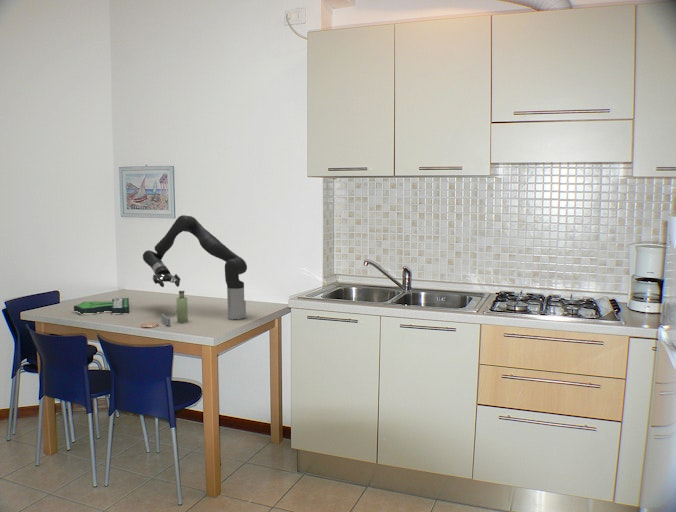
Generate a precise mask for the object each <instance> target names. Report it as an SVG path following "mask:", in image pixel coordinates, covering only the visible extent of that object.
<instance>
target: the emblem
mask: <svg viewBox="0 0 676 512" xmlns="http://www.w3.org/2000/svg"><path fill="white" fill-rule="evenodd" d="M74 311H78V312H80V313H81V314H83V313H97V312H104V311H112V312H111V314H112V313H128V314H130V298H129V297H124V298H123V297H119V298H118V297H116V298H112V300H111V301H84V302H82V303H79V304H75V305H73V312H74Z"/></svg>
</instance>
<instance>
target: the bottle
mask: <svg viewBox="0 0 676 512" xmlns="http://www.w3.org/2000/svg"><path fill="white" fill-rule="evenodd" d="M178 296H179V297H177V298H176V299H175V301H176V322H177V323H178V322H186V323H188V322H189V314H188V313H189V312H188V310H189V309H188V297H186V296H185V290H178ZM187 321H188V322H187Z"/></svg>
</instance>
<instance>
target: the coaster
mask: <svg viewBox="0 0 676 512" xmlns="http://www.w3.org/2000/svg"><path fill="white" fill-rule="evenodd" d="M157 325H158V326H159V323H157V322H147V323H142V324H140V325H139V326H141V327H154V326H157ZM158 326H157V327H158ZM141 327H140V328H141ZM154 328H155V327H154Z"/></svg>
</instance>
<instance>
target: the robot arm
mask: <svg viewBox="0 0 676 512" xmlns="http://www.w3.org/2000/svg"><path fill="white" fill-rule="evenodd" d="M182 232H186V233H190V234H192V235H193V236H194V237H196V239H197V240H198V243H199V245H200V246H201V248H202V249H203V250H204V251H205V252H207V253H208V254H209V255H211V256H213V257H215V258H217V259H220V260H221V261H224V262H225V264H224V277H225V278H224V279H225V283H226V287H227V288H226V291H227V296H226V297H227V319H229V320H233V319H237V320H242V318H243V319H245V318H247V302H246V300H245V282H244V281H242V280H240V276H239V275H243V274H245V273H246V272H247V270H248V266H247V261H246V260H244V259H243V258H242V257H240V256H239V255H238V254H236V253H235V252H234V251H232V250H231V249H229V247H227V246H226V245H225V244H223V242H222V241H220V239H219V238H217V237H216V236H214V235H213V234H212V233H211V232H210V231H208V230H207V229H205V227H204V226H203V225H202V224H201V223H200V222H199V221H198V220H197V219H196V218H195V217H194V216H191V215H185V214H184V215H180V216H178V217H177V218H176V220H175V221H174V222H173V223H172V225H171V227H170V228H169V229H168V231H167V232H166V234H165V235H164V236H163V237H162V238H161V240H160V241H158V242H157V243H156V245H154V251H152V250H145V251H144V252H143V254H142V259H143V262H144V263H145V264H147V265H148V266H149V267H150V268H151V270H152V271H153V273H154V274H152V275H153V276H152V280H153V282H154V284H155V285H156V284H158V285H159V286H160V287H161V288H164V286H165V283H166V282H167V283H172V284H174V285H175V286H176V287H177V288H178V287H180V284H181V277H180V276H179V275H178V274H176V273H175V274H174V275H172V273H171V272H170V270H169V269H168V267H167V266H166V265H165V263H164V262H163V261H162V259H163V257H164V256H165V254H166V253H167V252H168V251H169V250H170V249H171V248H172V247H173V245H174V242H175V241H176V238H177V236H178V235H179V234H181V233H182ZM164 282H165V283H164Z"/></svg>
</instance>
